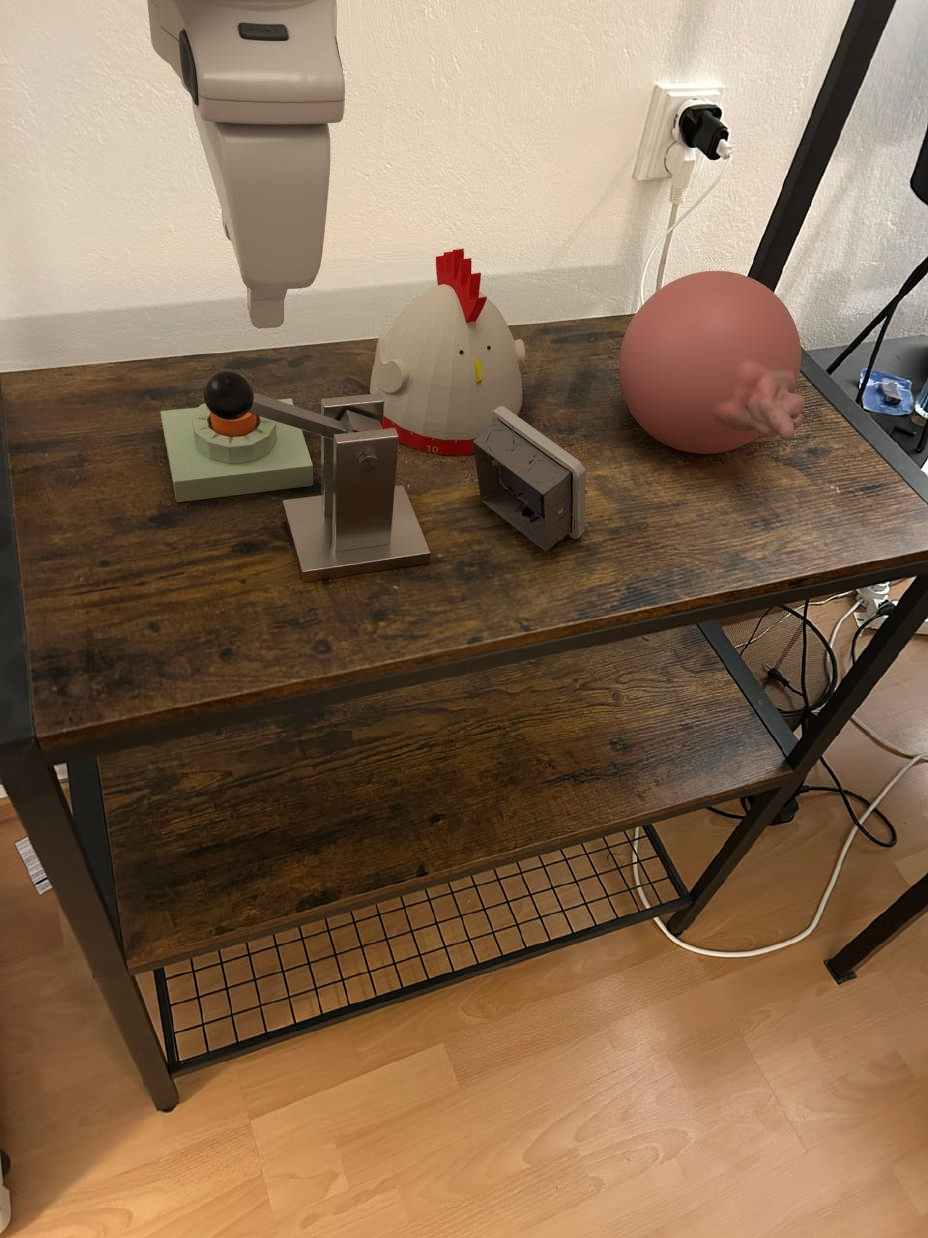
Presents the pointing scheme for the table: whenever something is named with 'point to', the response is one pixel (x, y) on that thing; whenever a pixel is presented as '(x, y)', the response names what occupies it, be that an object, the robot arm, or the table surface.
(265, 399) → the switch lever
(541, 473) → the electrical switch
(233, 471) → the control block
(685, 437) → the balloon
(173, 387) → the table surface
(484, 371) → the kitchen timer
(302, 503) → the switch bracket
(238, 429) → the button
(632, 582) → the table surface
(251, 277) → the robot arm
